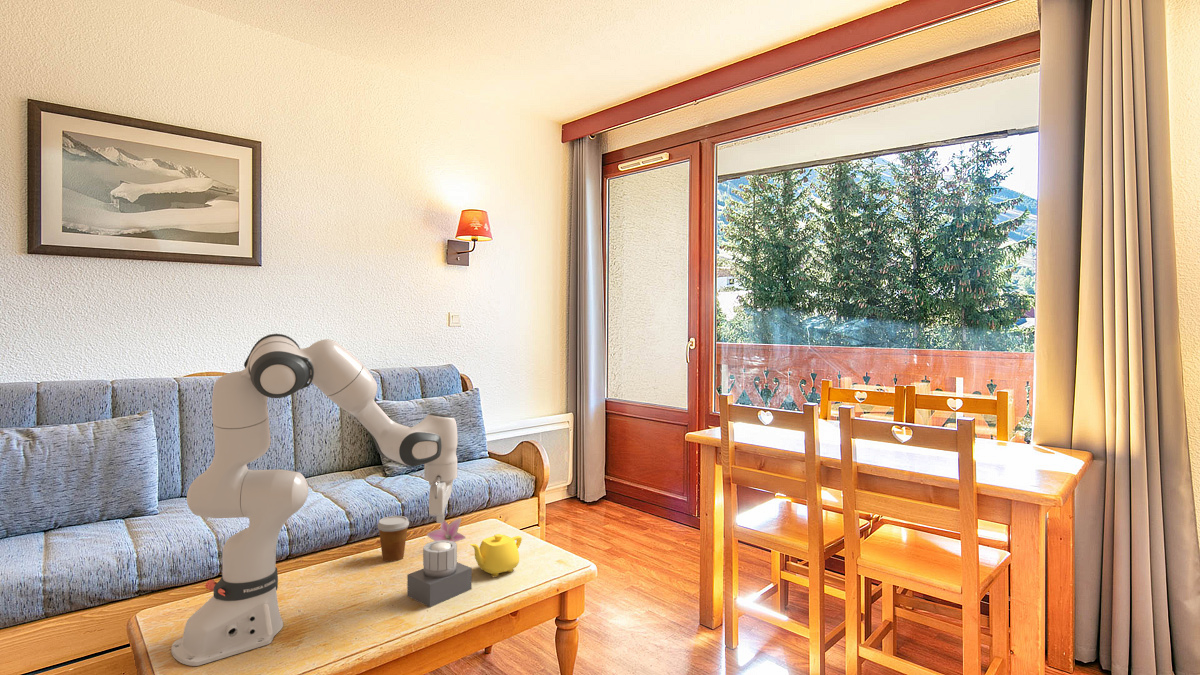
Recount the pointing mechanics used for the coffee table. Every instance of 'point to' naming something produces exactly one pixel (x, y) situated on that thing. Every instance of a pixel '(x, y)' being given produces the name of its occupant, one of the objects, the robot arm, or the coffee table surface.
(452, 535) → the lily
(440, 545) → the white egg
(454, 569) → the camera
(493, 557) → the teapot
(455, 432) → the robot arm
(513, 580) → the coffee table surface
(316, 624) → the coffee table surface
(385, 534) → the disposable coffee cup
